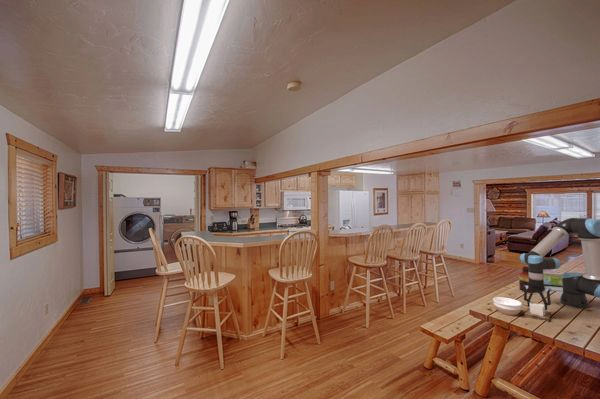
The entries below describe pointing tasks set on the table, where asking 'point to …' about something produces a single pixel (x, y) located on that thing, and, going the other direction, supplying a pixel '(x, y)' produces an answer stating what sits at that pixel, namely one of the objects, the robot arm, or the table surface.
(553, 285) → the tea box
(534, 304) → the cube
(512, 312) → the bowl
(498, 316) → the table surface
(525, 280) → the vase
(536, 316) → the board
